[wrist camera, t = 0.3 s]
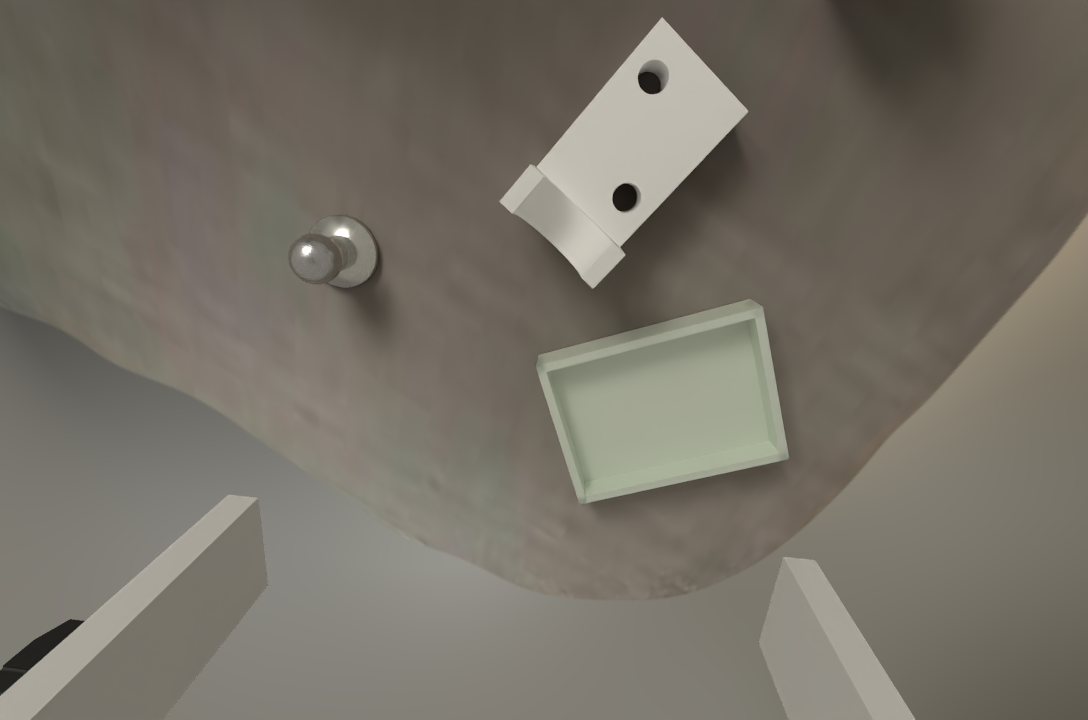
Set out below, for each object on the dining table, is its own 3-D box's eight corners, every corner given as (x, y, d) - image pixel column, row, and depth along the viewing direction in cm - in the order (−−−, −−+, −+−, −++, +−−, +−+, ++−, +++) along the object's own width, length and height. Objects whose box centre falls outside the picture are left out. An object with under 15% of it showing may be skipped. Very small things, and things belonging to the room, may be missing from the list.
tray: (538, 355, 39) (535, 366, 36) (750, 298, 36) (762, 306, 34) (579, 485, 42) (579, 504, 39) (776, 442, 40) (789, 459, 37)
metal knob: (298, 227, 37) (249, 234, 31) (362, 206, 36) (323, 209, 30) (327, 293, 38) (285, 311, 33) (389, 275, 37) (356, 290, 32)
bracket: (590, 268, 37) (593, 288, 29) (515, 198, 35) (499, 201, 28) (731, 119, 33) (773, 100, 26) (653, 35, 32) (674, -9, 25)
